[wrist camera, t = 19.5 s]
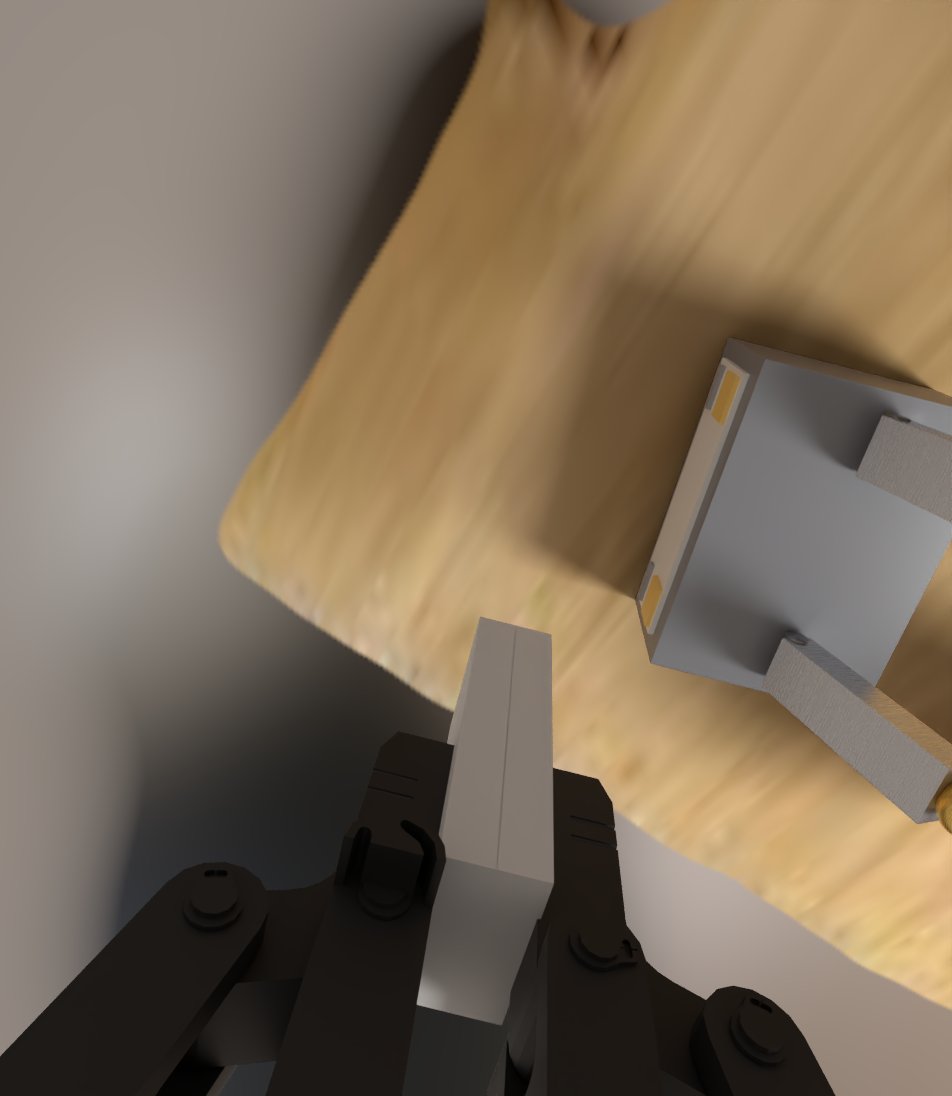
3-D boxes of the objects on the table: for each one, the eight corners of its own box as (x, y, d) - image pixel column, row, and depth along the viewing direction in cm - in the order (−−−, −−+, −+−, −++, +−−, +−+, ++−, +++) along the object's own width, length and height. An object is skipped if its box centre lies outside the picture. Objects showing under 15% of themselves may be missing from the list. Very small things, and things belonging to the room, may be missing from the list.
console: (719, 334, 44) (754, 356, 37) (934, 389, 44) (1011, 422, 37) (626, 597, 51) (640, 660, 43) (814, 645, 51) (860, 715, 43)
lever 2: (772, 630, 41) (996, 805, 30) (805, 630, 42) (1032, 799, 31) (750, 681, 42) (958, 866, 32) (782, 679, 43) (993, 858, 33)
